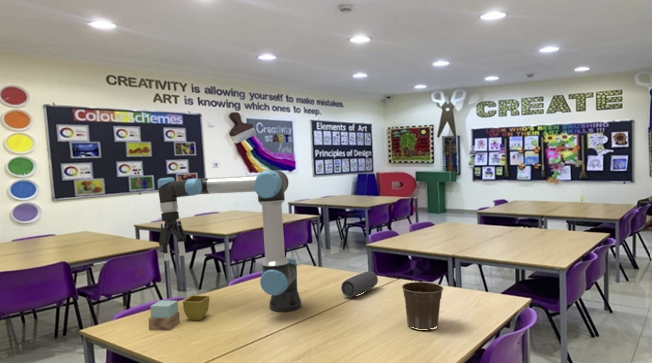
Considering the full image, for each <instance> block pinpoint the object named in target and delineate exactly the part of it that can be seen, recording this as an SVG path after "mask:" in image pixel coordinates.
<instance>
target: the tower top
mask: <svg viewBox="0 0 652 363" xmlns="http://www.w3.org/2000/svg"><path fill="white" fill-rule="evenodd" d="M178 312H179V300H172V299H171V300H165V299H163V300H162V299H161V300H158V301H156V302H155V303H154V304H151V305H150V317H151V318H170V317H172V316H173V315H175V314H176V313H178Z"/></svg>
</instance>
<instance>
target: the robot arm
mask: <svg viewBox="0 0 652 363" xmlns="http://www.w3.org/2000/svg"><path fill="white" fill-rule="evenodd" d="M289 182H290V181H289V179H288V176H287V175H286V174H285V173H284V172H283V171H281V170H277V169H273V170H271V169H270V170H269V169H268V170H264V171H262V172H260V173H259V174H257V175H244V176H243V175H242V176H240V175H239V176H227V177H226V176H225V177H224V176H223V177H207V178H206V177H205V178H204V177H203V178H202V177H201V178H188V179H182V180H175V178H174V177H162V178H159V179H158V180H157V190H158V198H159V207H160V212H161V214H160V215H161V221H162V222H163V223H161V224H160V234H159V241H158V245H159V247H162V252H163V261H164V262H167V261H171V252H170V251H171V250H170V245H169V242H170V238H171V235H172V233H173V234H174V236H175V237H176V239H177V241H178V242H177V246H178V247H177V248H178V254H179V257H184V256H186V248H185V242H186V241H187V236H186V233H185V231H184V228H183V225H182V222H181V220H179V219H180V214H179V211H178V210H179V204H178V198H182V197H183V198H185V197H190V196H192V197H193V196H196V195H211V194H229V193H230V194H233V193H235V194H237V193H256V194H257V201H258V202H257V203H259V204H260V205H261V209H262V211H261V212H262V227H263V228H262V229H263V240H264V244H263V245H264V258H265V259H264V261H263V262H262V263H261V264H262V274H261V275H260V276H261V277H260V279H259V285H260V288H261V289H262V291H264V292H265V293H266V294H267V295H269V296H270V300H269V303H268V305H269V310H270V311H273V312H283V313H284V312H292V311H296V310H299V309H300V308H302V299H301V296H300V293H299V291H298V269H297V268H298V264H297V260H296V259H295V258H291V257H286V255H285V254H286V253H285V237H284V235H285V234H284V225H283V224H284V223H283V222H284V221H283V207H282V204H283V203H284V202H285V201H286V199H285V198H286V197H285V192H286V191H287V189H288V187H289Z"/></svg>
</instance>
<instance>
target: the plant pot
mask: <svg viewBox="0 0 652 363" xmlns="http://www.w3.org/2000/svg"><path fill="white" fill-rule="evenodd" d="M401 289H402V291H403V297H404V301H405V312H406V323H407V324H408V325H409V326H411V327H414V328H418V329H430V328H434V327H436V326H438V327H439V320H440V319H439V317H440V308H441V307H440V306H441V300H442V294H443V291H444V287H443V286H442V285H440V284H438V283H434V282H425V281H414V282H413V281H412V282H407V283H404V284H403V285H402V286H401ZM408 325H407V326H408Z"/></svg>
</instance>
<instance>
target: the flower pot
mask: <svg viewBox="0 0 652 363" xmlns="http://www.w3.org/2000/svg"><path fill="white" fill-rule="evenodd" d="M209 304H210V296H209V295H191V296H189V297H188V298H186V299H185V300H183V301H182V306H183V312H184V314H185V316H186V317H187V320H189V321H201V320H202V319H203V318H205V317H206V315H207V313H208V310H209V306H210V305H209Z"/></svg>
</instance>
